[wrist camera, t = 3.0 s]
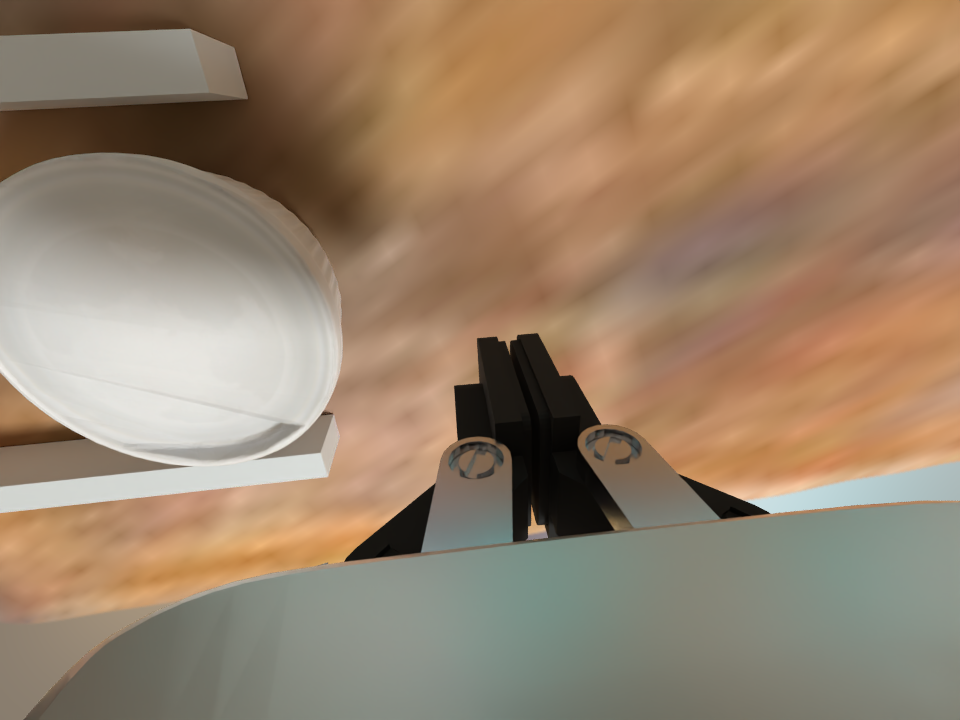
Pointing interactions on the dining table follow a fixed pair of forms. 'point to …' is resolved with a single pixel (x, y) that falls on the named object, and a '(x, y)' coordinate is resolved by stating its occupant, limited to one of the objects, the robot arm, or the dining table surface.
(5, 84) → the bay
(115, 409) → the ramekin
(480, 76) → the dining table surface
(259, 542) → the dining table surface
